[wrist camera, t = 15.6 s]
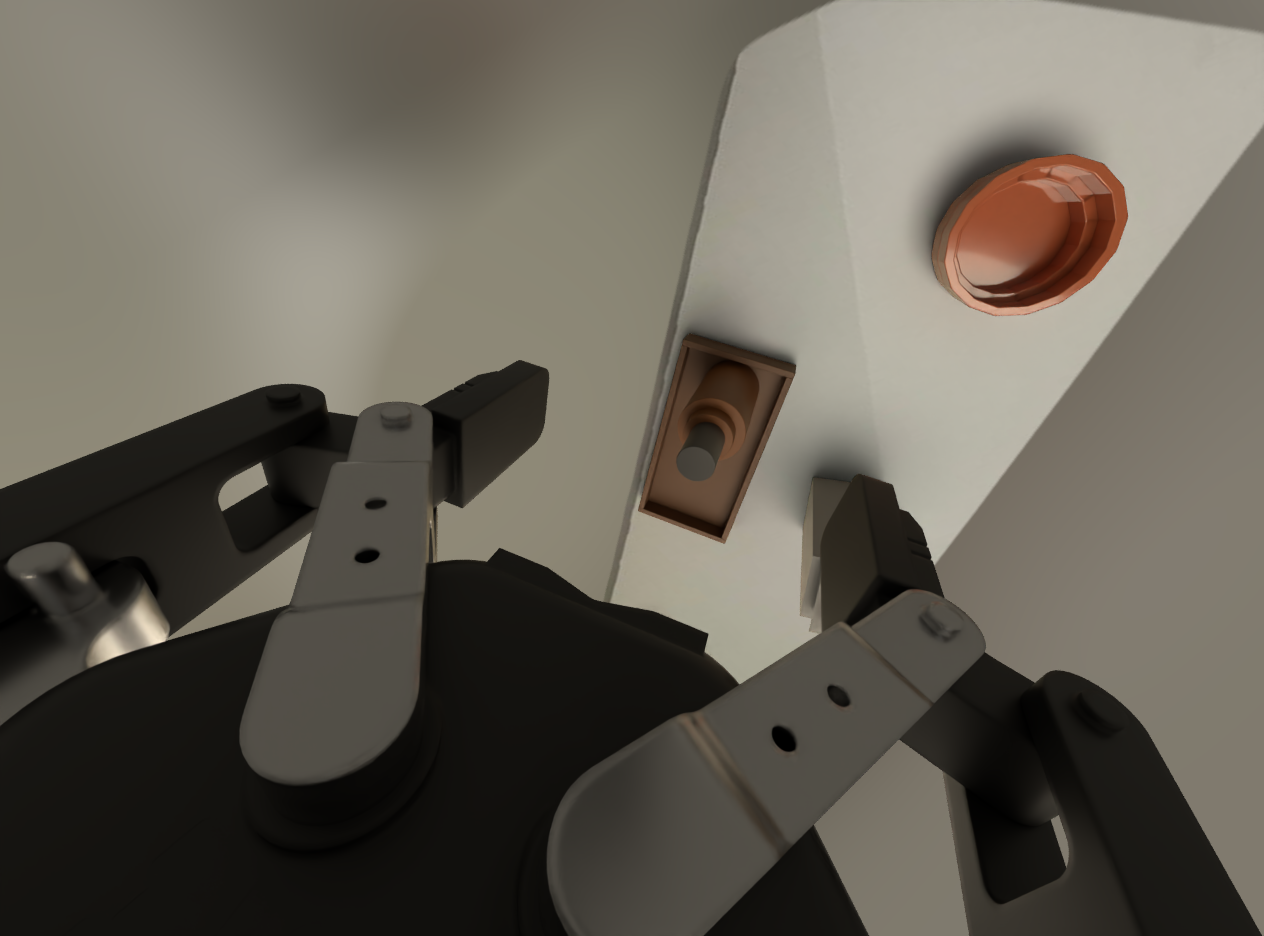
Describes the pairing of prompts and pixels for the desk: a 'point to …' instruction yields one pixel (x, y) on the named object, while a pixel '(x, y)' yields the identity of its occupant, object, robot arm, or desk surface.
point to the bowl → (1030, 234)
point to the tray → (722, 493)
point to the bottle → (716, 419)
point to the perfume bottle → (816, 544)
